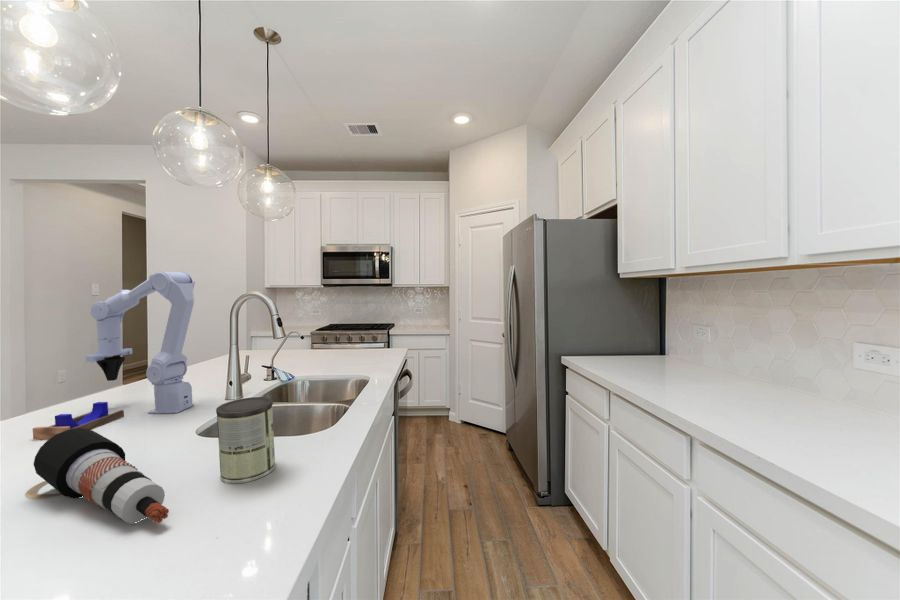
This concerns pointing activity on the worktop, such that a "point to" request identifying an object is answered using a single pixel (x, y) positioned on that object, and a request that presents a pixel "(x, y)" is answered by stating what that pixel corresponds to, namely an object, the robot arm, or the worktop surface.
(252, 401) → the coffee can
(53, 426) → the brown wooden piece
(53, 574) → the worktop surface
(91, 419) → the cable clip
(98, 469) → the cable
